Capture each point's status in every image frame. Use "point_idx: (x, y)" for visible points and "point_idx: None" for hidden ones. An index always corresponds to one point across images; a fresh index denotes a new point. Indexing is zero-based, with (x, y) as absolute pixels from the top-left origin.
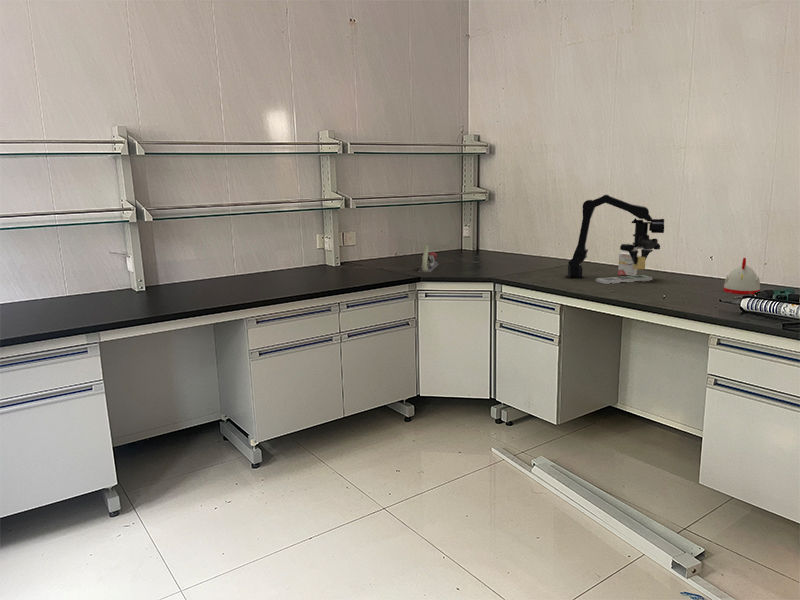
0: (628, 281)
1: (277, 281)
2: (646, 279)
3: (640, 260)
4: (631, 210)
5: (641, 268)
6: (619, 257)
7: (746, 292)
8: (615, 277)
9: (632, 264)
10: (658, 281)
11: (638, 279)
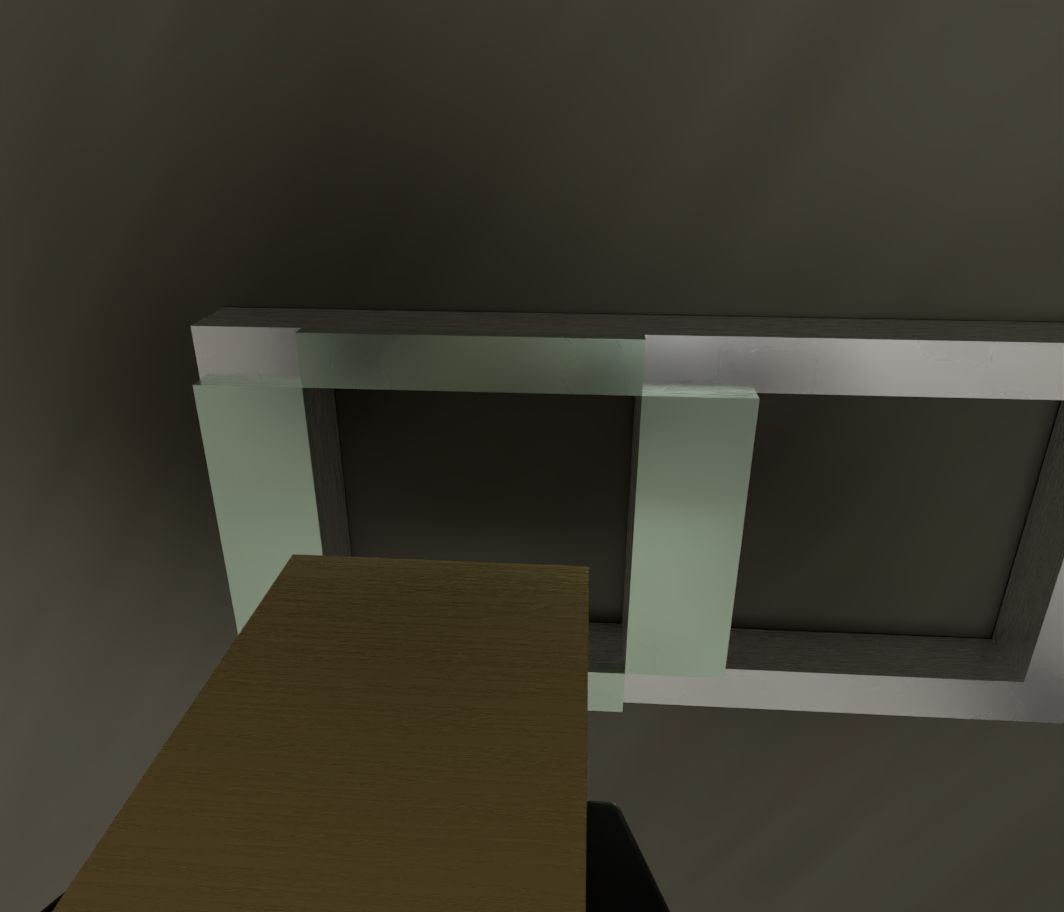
0: (928, 326)
1: None
2: (378, 319)
3: (436, 847)
4: None
5: (428, 574)
6: None
7: None
8: (1007, 688)
9: None
10: (108, 176)
11: (622, 331)
